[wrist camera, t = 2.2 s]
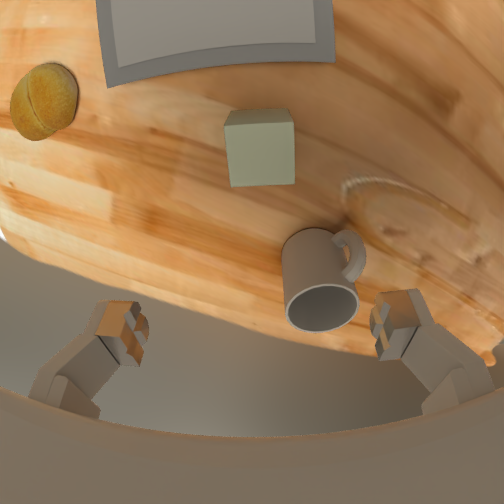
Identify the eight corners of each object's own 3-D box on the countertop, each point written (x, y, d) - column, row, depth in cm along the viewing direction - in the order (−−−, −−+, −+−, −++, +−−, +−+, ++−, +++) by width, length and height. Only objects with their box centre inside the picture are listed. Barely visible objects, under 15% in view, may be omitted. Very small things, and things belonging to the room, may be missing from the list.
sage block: (287, 107, 24) (293, 122, 19) (288, 157, 27) (294, 184, 22) (231, 110, 24) (223, 126, 20) (236, 160, 27) (230, 187, 23)
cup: (268, 256, 35) (269, 316, 28) (327, 196, 30) (348, 250, 23) (312, 283, 37) (321, 340, 30) (370, 232, 32) (395, 287, 25)
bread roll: (90, 114, 24) (70, 125, 21) (36, 143, 26) (16, 157, 22) (69, 47, 19) (46, 50, 16) (15, 85, 21) (-7, 93, 17)
